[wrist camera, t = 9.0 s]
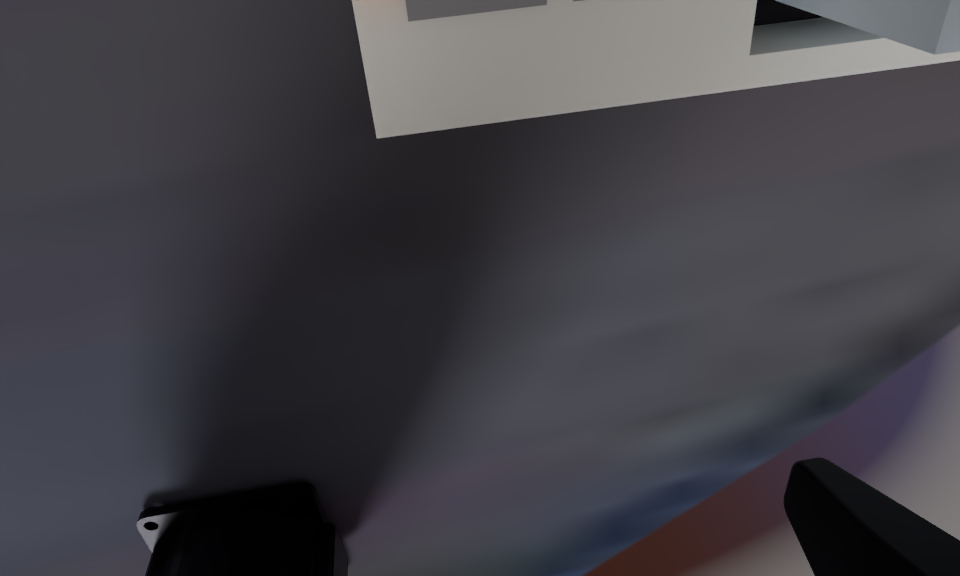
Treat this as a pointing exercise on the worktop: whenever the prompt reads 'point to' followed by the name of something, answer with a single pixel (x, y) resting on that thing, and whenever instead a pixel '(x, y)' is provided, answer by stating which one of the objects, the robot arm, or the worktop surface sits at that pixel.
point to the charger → (896, 20)
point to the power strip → (589, 56)
